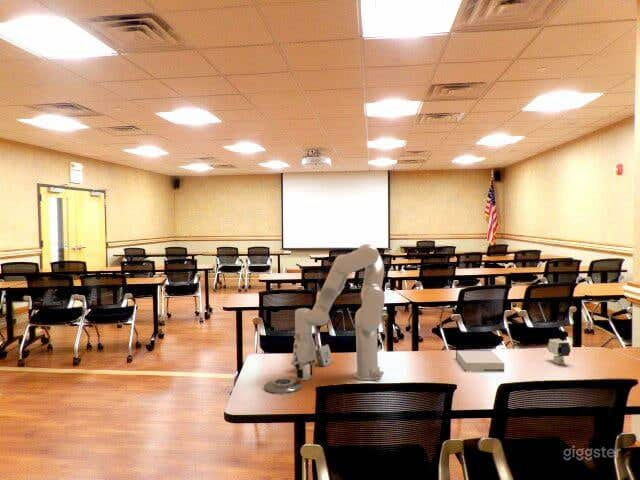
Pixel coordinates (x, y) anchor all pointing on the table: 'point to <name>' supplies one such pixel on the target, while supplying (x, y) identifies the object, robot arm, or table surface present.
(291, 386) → the socket
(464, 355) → the disc drive
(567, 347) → the security camera
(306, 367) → the white rounded cylinder
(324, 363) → the electrical switch
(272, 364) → the table surface
